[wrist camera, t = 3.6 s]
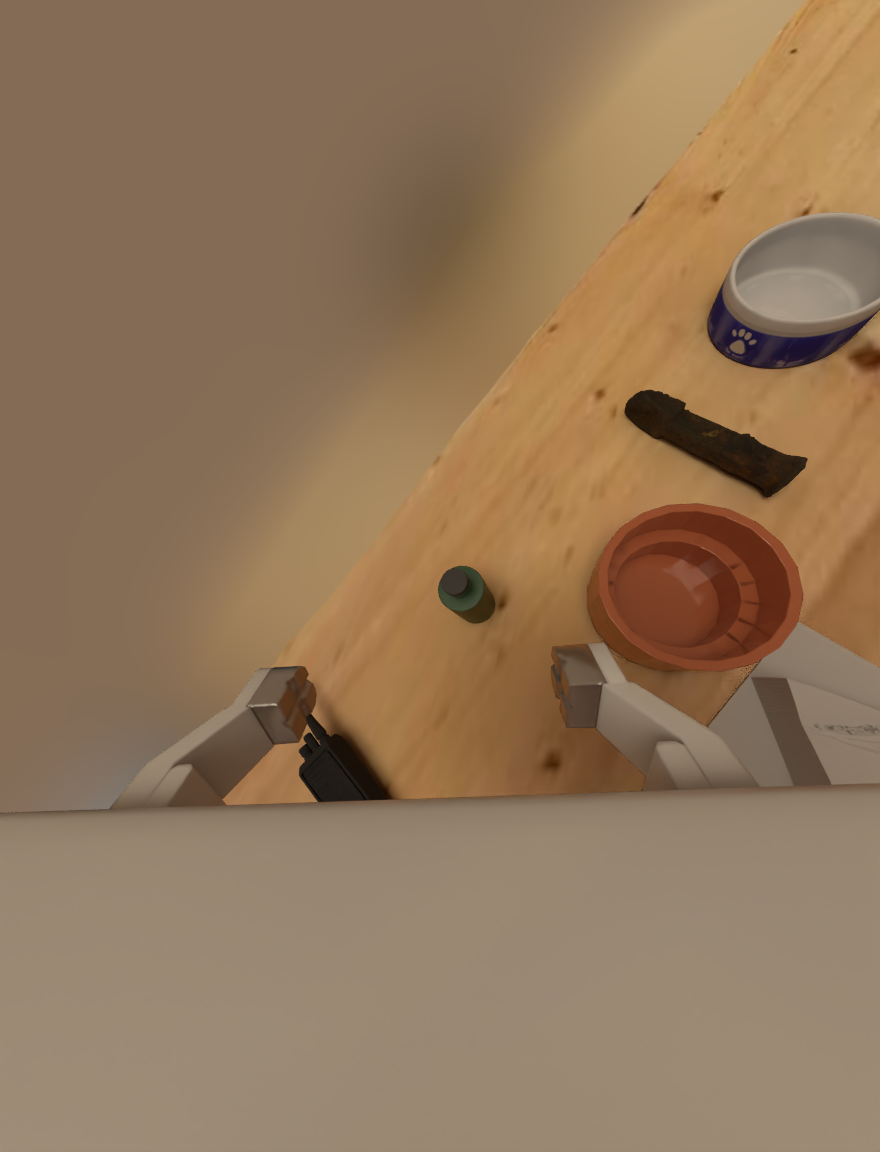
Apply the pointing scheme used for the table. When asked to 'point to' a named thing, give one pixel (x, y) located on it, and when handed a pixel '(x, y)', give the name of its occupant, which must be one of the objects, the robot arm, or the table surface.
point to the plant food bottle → (466, 594)
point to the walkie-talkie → (334, 769)
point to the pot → (694, 590)
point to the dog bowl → (799, 291)
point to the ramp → (806, 715)
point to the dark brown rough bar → (713, 441)
